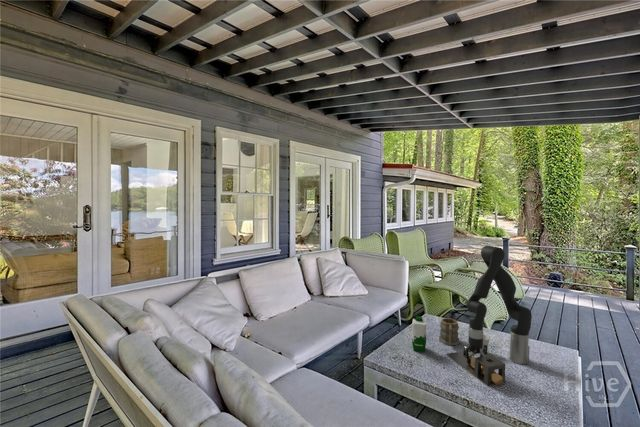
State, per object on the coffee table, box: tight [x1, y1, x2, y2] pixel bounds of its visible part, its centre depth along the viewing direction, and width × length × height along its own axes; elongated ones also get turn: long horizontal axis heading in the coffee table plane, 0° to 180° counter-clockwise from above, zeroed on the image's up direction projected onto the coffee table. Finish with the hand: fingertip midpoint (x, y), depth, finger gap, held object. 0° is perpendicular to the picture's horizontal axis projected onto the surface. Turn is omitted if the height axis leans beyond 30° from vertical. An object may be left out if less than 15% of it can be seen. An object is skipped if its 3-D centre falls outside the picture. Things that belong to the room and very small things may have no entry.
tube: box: [466, 356, 504, 386], centre depth 177 cm, size 22×5×5 cm, turn 15°
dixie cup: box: [482, 334, 490, 351], centre depth 203 cm, size 8×8×10 cm
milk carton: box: [411, 315, 428, 353], centre depth 207 cm, size 9×9×20 cm
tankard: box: [438, 317, 460, 346], centre depth 215 cm, size 20×13×15 cm, turn 159°
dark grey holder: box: [445, 351, 507, 387], centre depth 184 cm, size 34×12×10 cm, turn 15°
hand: (475, 363), depth 184 cm, fingers open, 8 cm apart
